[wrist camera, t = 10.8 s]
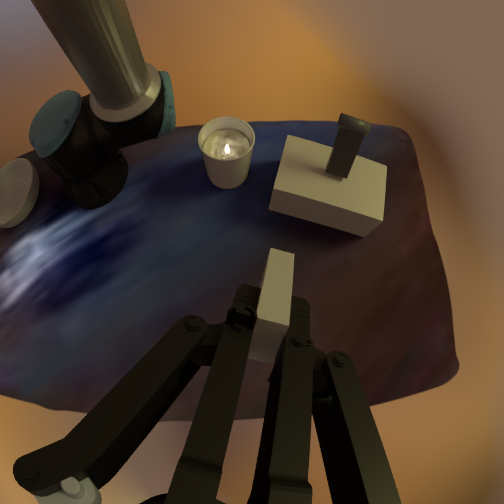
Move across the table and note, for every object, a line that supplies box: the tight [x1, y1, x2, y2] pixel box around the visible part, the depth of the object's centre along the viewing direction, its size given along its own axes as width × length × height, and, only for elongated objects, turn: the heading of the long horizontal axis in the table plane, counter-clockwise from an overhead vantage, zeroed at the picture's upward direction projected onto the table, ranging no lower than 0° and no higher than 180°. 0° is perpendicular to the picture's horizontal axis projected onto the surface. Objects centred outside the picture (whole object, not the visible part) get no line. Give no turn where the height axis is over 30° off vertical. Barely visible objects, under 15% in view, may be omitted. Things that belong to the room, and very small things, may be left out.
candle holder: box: [198, 116, 255, 189], centre depth 56 cm, size 10×10×12 cm
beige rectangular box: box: [268, 135, 387, 237], centre depth 56 cm, size 20×12×9 cm, turn 75°
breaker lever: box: [325, 113, 371, 179], centre depth 47 cm, size 5×2×11 cm, turn 75°
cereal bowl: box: [0, 158, 39, 228], centre depth 54 cm, size 17×17×7 cm
